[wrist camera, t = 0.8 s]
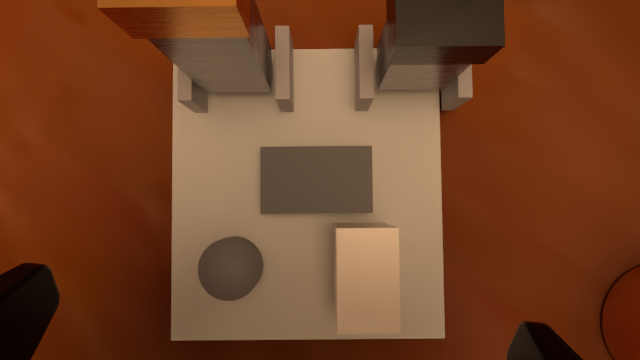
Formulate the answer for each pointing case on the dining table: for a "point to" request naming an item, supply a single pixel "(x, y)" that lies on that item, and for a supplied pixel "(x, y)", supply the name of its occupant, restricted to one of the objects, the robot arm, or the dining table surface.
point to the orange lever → (203, 39)
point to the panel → (304, 237)
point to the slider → (366, 278)
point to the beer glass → (623, 317)
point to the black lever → (436, 41)
